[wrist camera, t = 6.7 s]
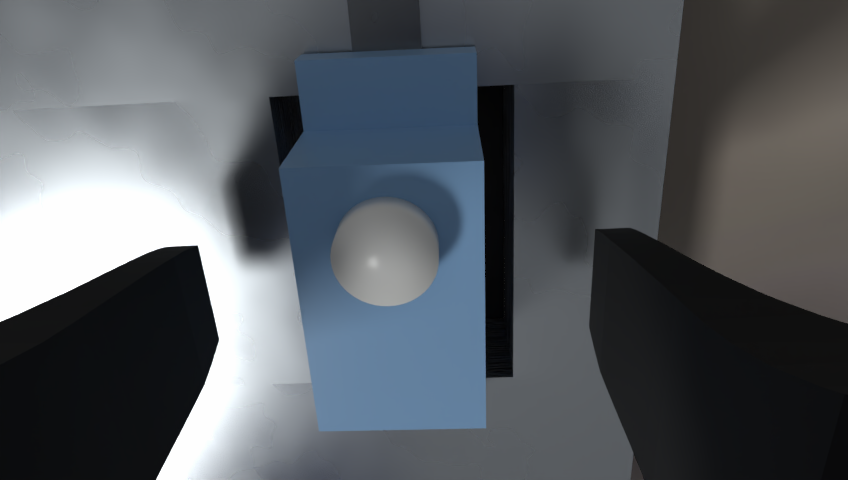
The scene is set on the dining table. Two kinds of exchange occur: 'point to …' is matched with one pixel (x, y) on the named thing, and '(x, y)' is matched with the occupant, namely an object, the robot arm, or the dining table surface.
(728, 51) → the dining table surface
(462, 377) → the block
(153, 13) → the plate
